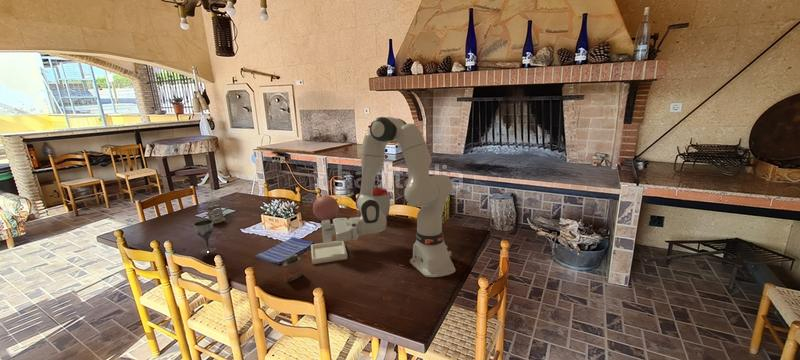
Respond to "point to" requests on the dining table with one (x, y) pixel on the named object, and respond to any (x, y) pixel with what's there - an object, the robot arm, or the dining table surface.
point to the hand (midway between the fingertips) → (324, 230)
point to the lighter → (292, 268)
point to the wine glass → (205, 233)
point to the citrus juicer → (382, 199)
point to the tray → (328, 252)
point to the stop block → (326, 226)
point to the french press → (217, 215)
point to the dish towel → (285, 250)
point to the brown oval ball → (325, 208)
